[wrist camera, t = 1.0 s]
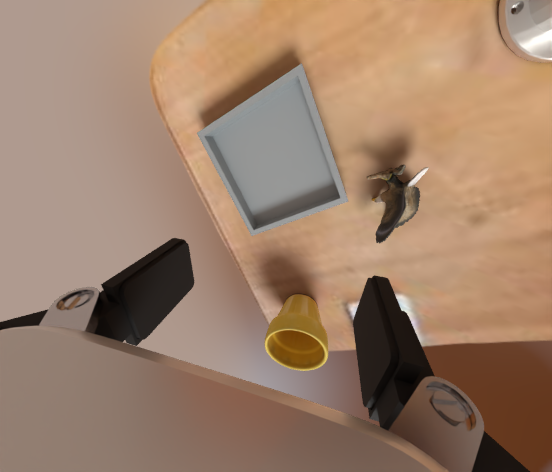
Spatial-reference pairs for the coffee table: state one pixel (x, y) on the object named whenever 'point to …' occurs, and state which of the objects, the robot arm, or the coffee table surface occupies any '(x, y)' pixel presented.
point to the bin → (275, 155)
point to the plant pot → (298, 335)
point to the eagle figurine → (397, 200)
